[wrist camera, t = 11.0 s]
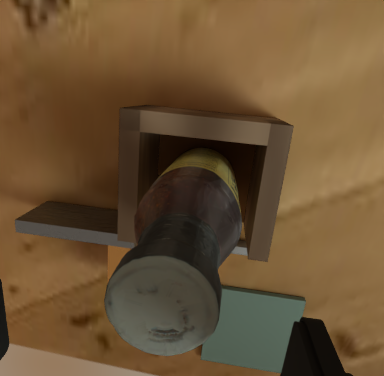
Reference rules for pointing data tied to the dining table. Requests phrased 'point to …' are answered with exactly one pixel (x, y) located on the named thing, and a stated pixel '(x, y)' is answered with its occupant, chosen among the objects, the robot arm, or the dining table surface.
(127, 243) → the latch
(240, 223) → the sauce bottle
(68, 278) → the dining table surface
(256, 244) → the cradle
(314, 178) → the dining table surface
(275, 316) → the mat
